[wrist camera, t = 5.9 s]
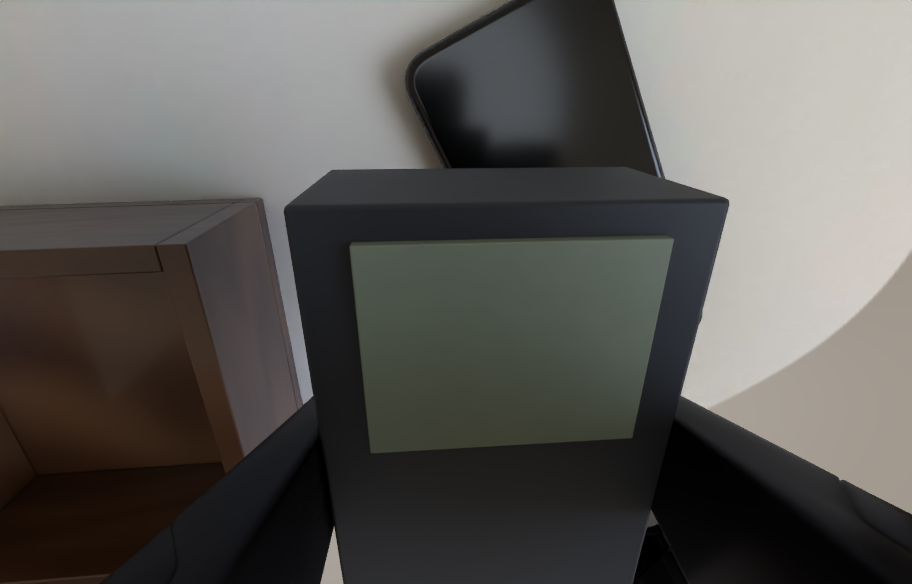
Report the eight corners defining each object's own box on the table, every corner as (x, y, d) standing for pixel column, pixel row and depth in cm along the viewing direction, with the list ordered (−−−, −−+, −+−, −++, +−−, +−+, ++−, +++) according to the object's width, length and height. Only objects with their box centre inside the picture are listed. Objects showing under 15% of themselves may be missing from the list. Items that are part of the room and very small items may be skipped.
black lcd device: (576, 495, 12) (629, 625, 9) (367, 509, 11) (350, 650, 8) (627, 166, 8) (741, 201, 5) (329, 169, 8) (276, 208, 5)
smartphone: (393, 68, 16) (551, 385, 22) (391, 66, 15) (556, 396, 21) (593, -45, 15) (700, 318, 21) (603, -54, 14) (711, 327, 20)
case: (-103, 209, 17) (-381, 265, 11) (262, 197, 17) (185, 244, 12) (39, 475, 22) (-95, 607, 16) (312, 456, 23) (276, 575, 17)
